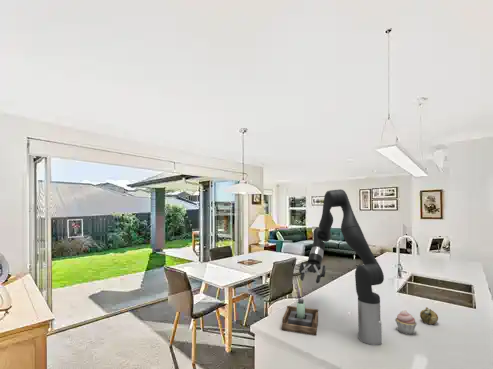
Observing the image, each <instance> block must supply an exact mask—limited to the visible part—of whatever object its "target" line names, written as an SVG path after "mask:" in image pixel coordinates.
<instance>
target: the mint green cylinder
mask: <svg viewBox="0 0 493 369" xmlns="http://www.w3.org/2000/svg"><path fill="white" fill-rule="evenodd" d="M296 307H297V318H299V319H305V308H306V302H305V300H304V299H303V298H299V299H297V302H296Z"/></svg>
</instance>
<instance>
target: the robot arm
mask: <svg viewBox="0 0 493 369" xmlns="http://www.w3.org/2000/svg"><path fill="white" fill-rule="evenodd" d="M339 207H340V208H341V211H342V220H341V225H340V230H341V231H340V232H341V233H342V236H343V238H344V241H345V243H346V244H347V245H348V246H349V247H350V248H351V249H352V251H354V252H355V253H356V254H357V255H358V257H359V258H360V259H361V261H362V263H363V264H359V265H357V267H356V268H355V272H354V276H355V278H354V279H355V280H354V281H355V292H356V295H357V321H358V323H357V324H358V326H357V327H358V328H357V329H358V330H357V332H358V333H357V334H358V340H360V342H362V343H365V344H367V345H372V346H373V345H374V346H376V345H383V337H382V336H383V335H382V332H383V331H382V330H383V329H382V328H383V327H382V320H381V297H380V295H379V294H378V293H376V292H373V286H378V285H381V284H383V282H384V280H385V276H384V273H383V270H382V267H381V266H380V263H379V262H378V260H377V258H376V257H375V254H374V253H373V251H372V250H371V248H370V246H369V243H368V241H367V239H366V237H365V235H364V233H363V231H362V229H361V228H362V227H361V226H360V225H359V223H358V220H357V218H356V215H355V214H354V211H353V208H352V206H351V202H350V199H349V197H348V195H347V192H346V191H345V190H344V189H331V190H327V191H326V192H325V193H324V198H323V204H322V215H321V218H320V221H319V224H318V227H315V228H314V230H313V232H312V234H313V235H312V236H313V241H312V242H313V243H312V245H311V250H310V252H309V255H308V259H307V262H306V263H304V262H303V261H302V262H301V263H300V266H299V268H298V272H299V274H300V277H299V279H300V281H304V280H305V275H306V274H308V273H313V274H315V273H316V279H315V282H316V284H319V283H320V282H321V278H325V276H326V271H327V268H326V265H325V264H324V265H322V263H323V262H322V261H323V258H324V252H325V247H326V243H327V242H329V241H330V240H331V237H332V236H331V235H332V234H331V233H332V232H331V230H332V226H333V223H334V217H333V214H332V213H331V209H332V208H339ZM320 270H321V273H320Z"/></svg>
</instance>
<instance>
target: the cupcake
mask: <svg viewBox="0 0 493 369" xmlns="http://www.w3.org/2000/svg"><path fill="white" fill-rule="evenodd" d="M394 321H395V322H396V325H397V329H398V331H399V332H400V333H403V334H405V335H413V334H414V333H415V330H416V326H417V325H418V322H417V321H416V319H415V317H413V315H412V314H411V313H409V312H408V311H407V310H406V309H404V310H402V311H400V312H399V313H398V314H397V315H396V317H395V319H394Z"/></svg>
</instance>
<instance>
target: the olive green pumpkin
mask: <svg viewBox="0 0 493 369" xmlns="http://www.w3.org/2000/svg"><path fill="white" fill-rule="evenodd" d="M419 317H420V319H421V320H422V322H424V323H426V324H428V325H435V324H436V323H437V322H438V321H439V316H438V314H437V313H436V312H435V311H434V310H432V309H431V308H428V307H425V309H423V310H421V311H420V312H419Z"/></svg>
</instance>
